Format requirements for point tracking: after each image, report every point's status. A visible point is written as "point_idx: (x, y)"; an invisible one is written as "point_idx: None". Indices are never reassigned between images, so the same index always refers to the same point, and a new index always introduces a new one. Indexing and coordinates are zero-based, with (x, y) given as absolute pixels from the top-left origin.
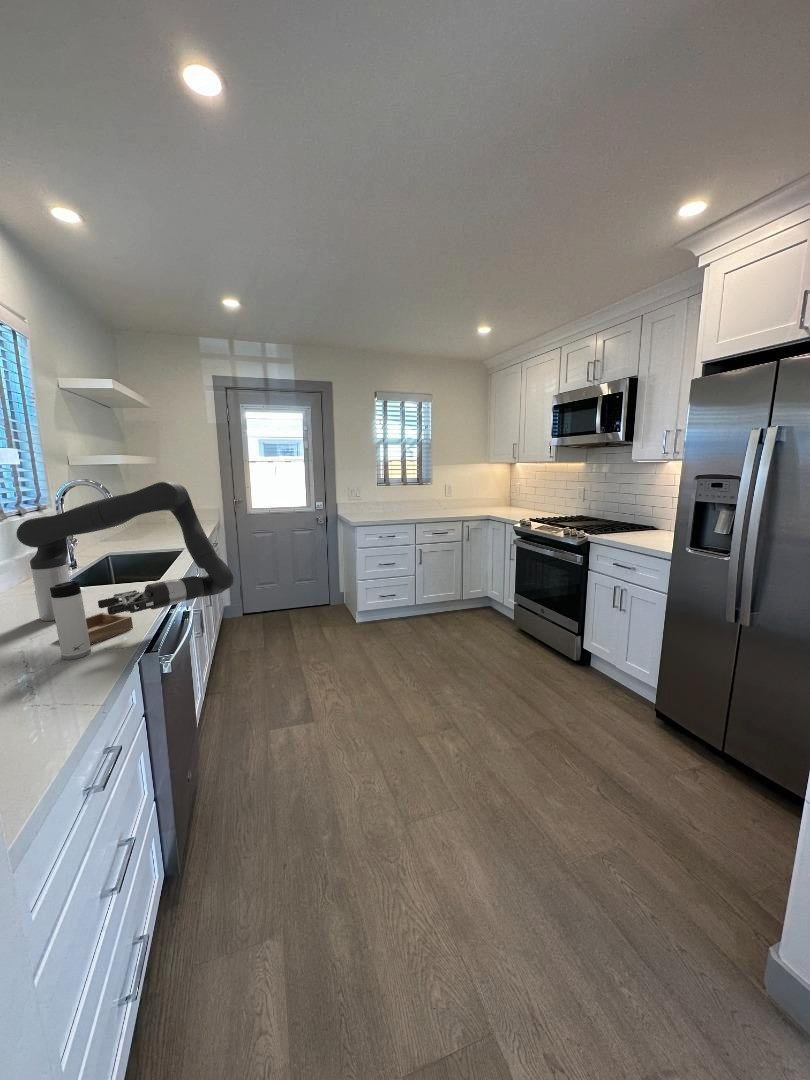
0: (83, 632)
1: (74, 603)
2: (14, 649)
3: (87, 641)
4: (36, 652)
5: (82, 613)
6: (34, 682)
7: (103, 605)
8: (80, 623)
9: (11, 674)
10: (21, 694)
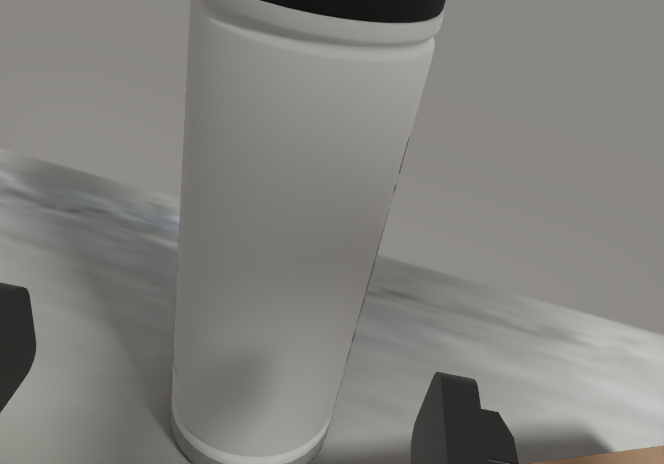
0: (178, 312)
1: (188, 48)
2: (617, 335)
3: (187, 392)
4: (493, 353)
5: (196, 192)
6: (109, 227)
7: (419, 457)
8: (181, 240)
9: None
10: (52, 184)
